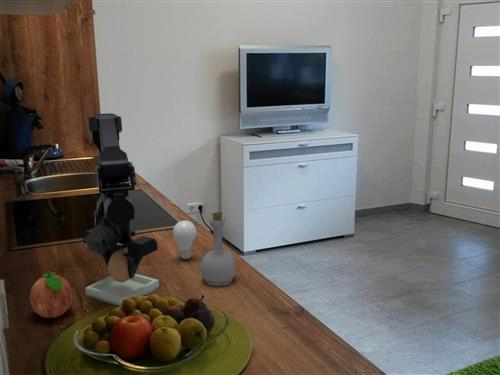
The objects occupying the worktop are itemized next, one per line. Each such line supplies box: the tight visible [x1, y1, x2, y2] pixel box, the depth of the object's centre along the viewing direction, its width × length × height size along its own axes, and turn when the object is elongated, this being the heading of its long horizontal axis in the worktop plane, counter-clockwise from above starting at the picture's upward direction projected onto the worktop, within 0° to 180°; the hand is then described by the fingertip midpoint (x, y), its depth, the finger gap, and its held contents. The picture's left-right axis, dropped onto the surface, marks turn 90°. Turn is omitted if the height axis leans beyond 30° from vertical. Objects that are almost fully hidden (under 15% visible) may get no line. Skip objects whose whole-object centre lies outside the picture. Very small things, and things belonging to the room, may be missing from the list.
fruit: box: [29, 270, 74, 319], centre depth 113 cm, size 9×10×10 cm
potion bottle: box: [199, 211, 237, 287], centre depth 129 cm, size 9×9×18 cm
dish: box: [84, 273, 160, 306], centre depth 125 cm, size 12×12×2 cm
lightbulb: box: [172, 220, 197, 261], centre depth 143 cm, size 6×6×11 cm
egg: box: [107, 249, 130, 282], centre depth 123 cm, size 6×6×8 cm
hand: (121, 275), depth 124 cm, fingers closed on egg, 6 cm apart
